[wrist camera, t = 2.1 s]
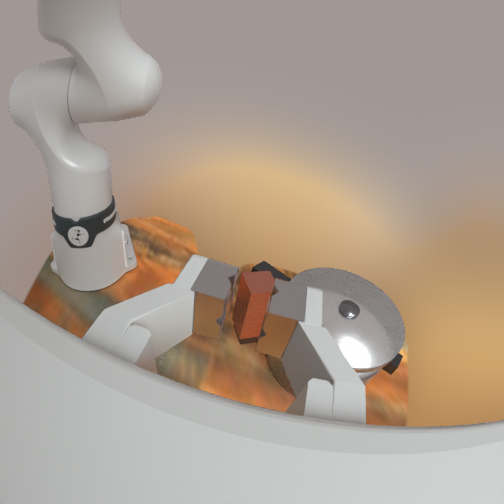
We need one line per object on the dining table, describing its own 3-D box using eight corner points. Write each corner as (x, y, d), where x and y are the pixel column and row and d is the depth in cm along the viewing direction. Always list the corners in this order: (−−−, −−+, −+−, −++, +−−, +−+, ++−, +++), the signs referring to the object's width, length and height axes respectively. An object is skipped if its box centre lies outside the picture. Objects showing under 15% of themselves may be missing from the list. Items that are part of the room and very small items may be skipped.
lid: (358, 269, 47) (377, 229, 42) (421, 350, 33) (453, 310, 29) (216, 281, 38) (223, 229, 34) (260, 406, 24) (282, 365, 20)
